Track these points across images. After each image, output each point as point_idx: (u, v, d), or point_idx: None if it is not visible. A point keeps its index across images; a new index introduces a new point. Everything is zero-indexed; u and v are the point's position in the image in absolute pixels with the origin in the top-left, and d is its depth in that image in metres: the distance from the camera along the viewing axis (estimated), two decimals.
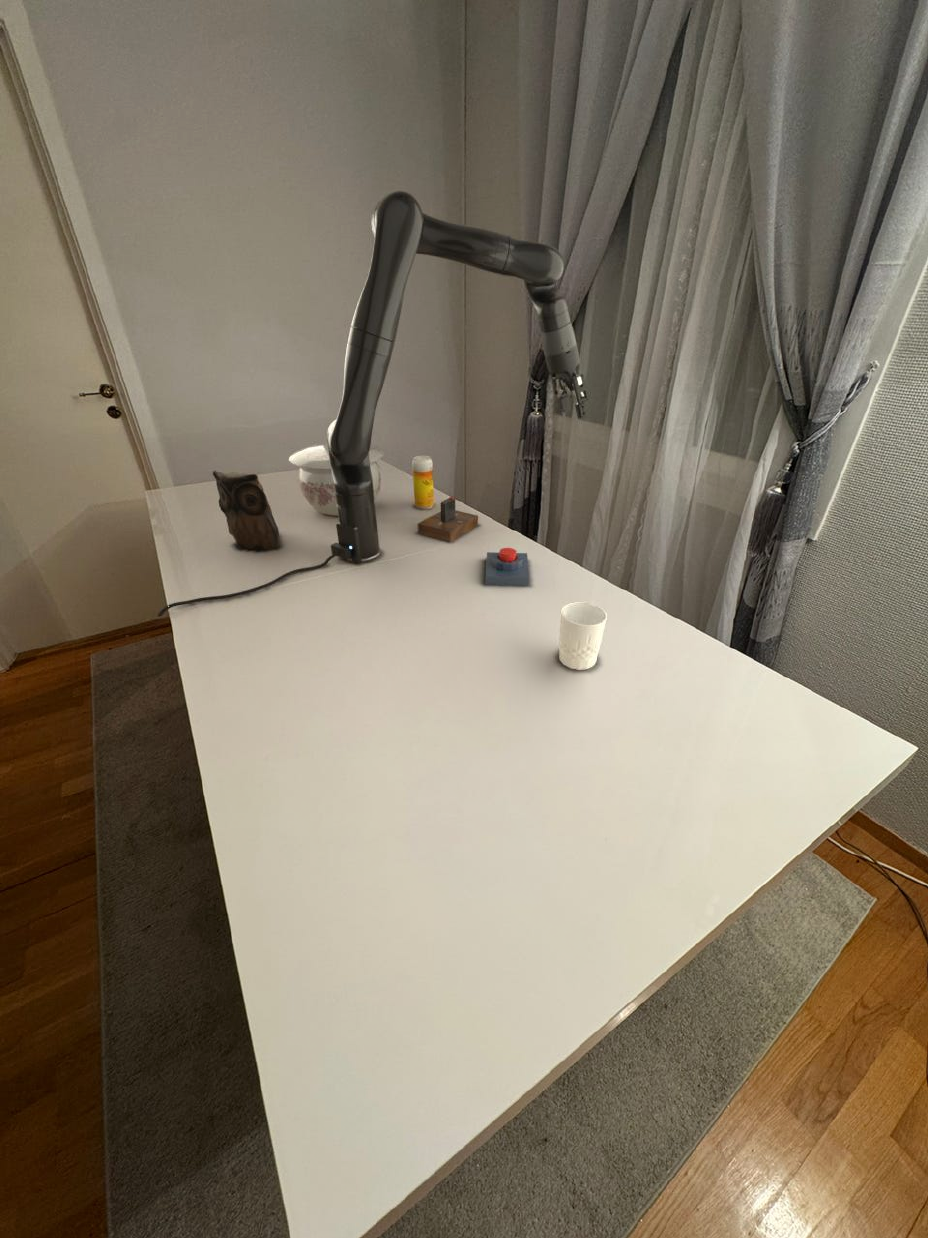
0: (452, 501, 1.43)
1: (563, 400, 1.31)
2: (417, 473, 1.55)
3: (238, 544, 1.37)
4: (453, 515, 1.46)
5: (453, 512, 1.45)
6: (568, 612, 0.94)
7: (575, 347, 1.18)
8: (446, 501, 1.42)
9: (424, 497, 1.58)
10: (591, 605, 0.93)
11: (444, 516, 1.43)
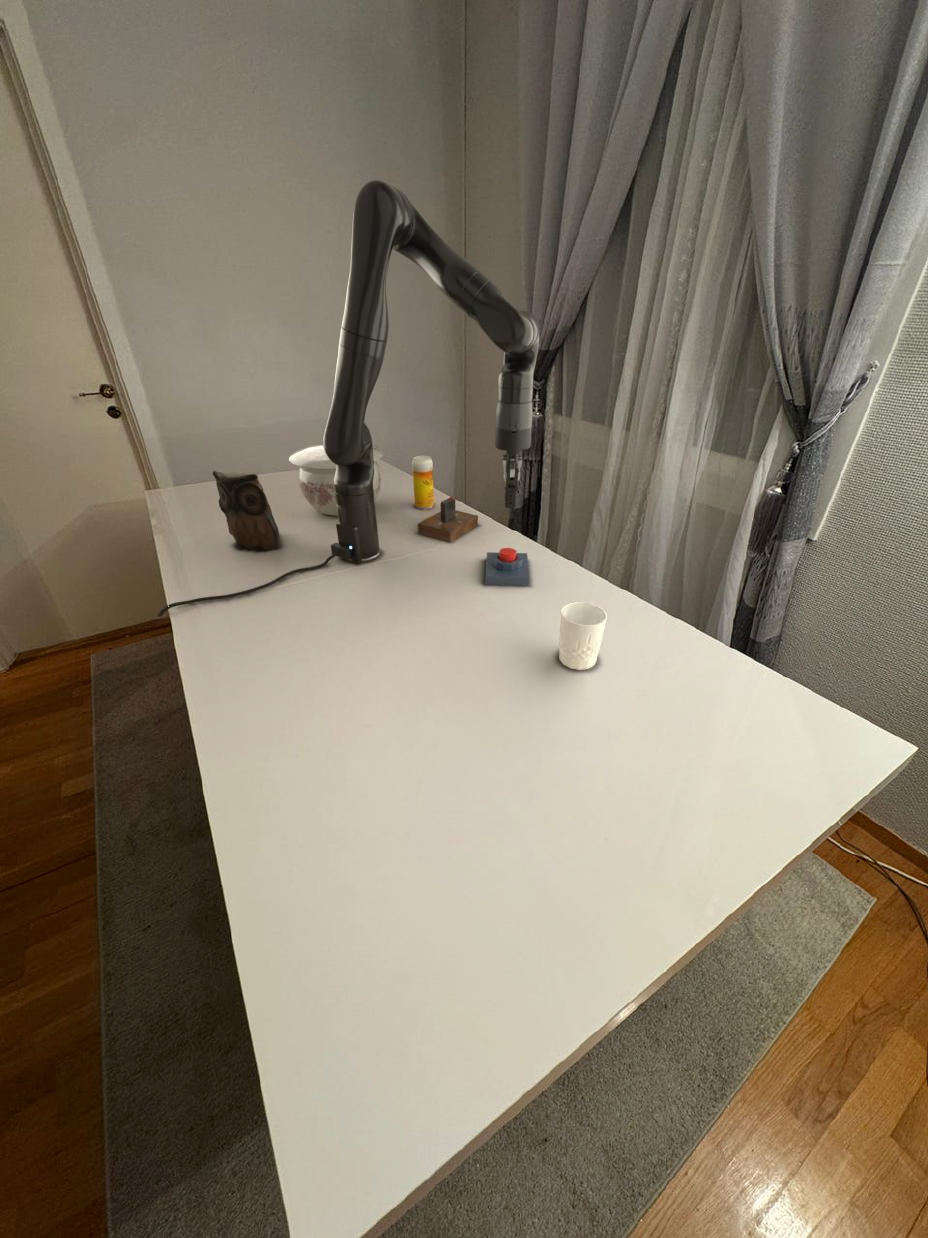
0: (452, 501, 1.43)
1: None
2: (417, 473, 1.55)
3: (238, 544, 1.37)
4: (453, 515, 1.46)
5: (453, 512, 1.45)
6: (568, 612, 0.94)
7: (525, 431, 1.04)
8: (446, 501, 1.42)
9: (424, 497, 1.58)
10: (591, 605, 0.93)
11: (444, 516, 1.43)
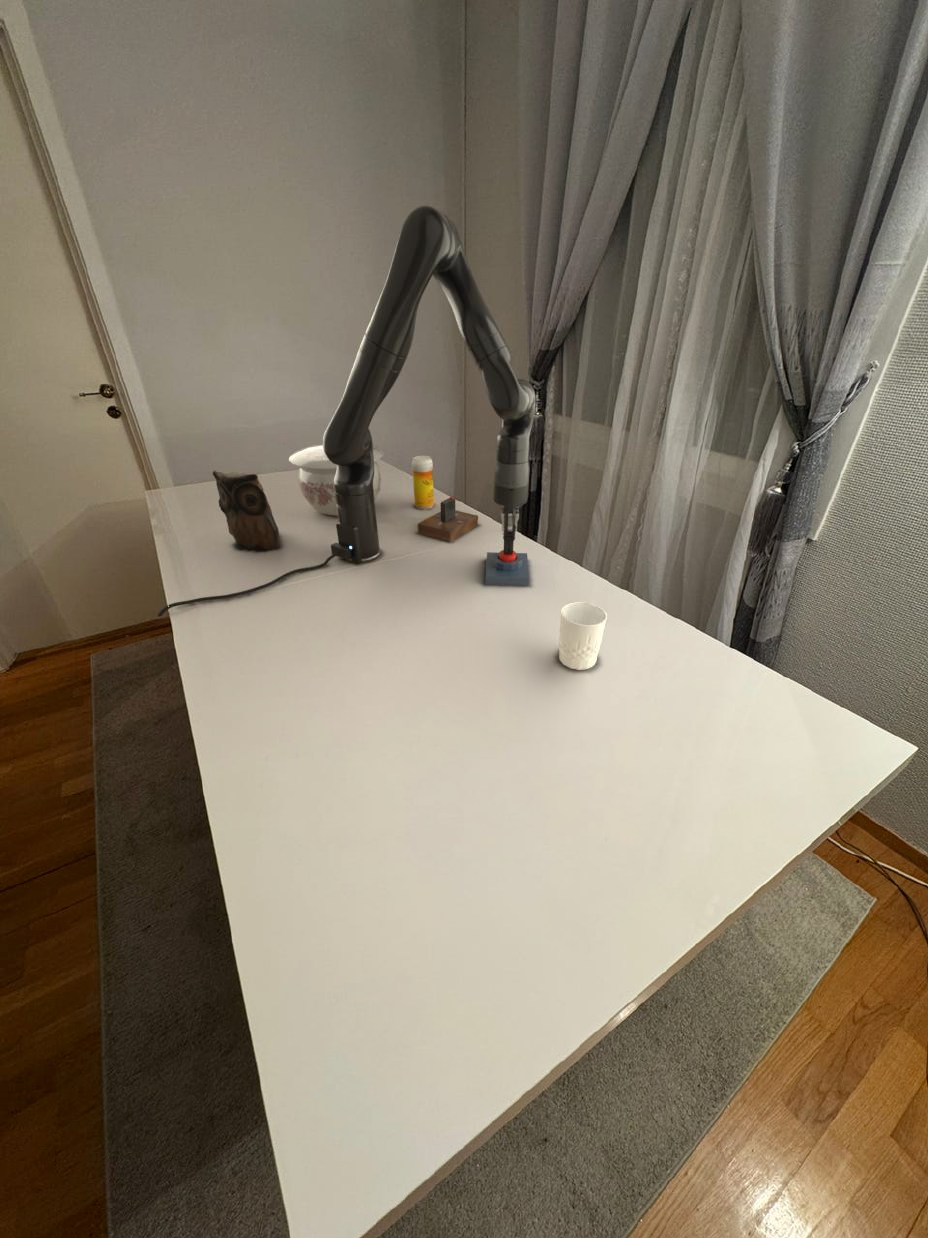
0: (452, 501, 1.43)
1: None
2: (417, 473, 1.55)
3: (238, 544, 1.37)
4: (453, 515, 1.46)
5: (453, 512, 1.45)
6: (568, 612, 0.94)
7: (522, 488, 1.11)
8: (446, 501, 1.42)
9: (424, 497, 1.58)
10: (591, 605, 0.93)
11: (444, 516, 1.43)
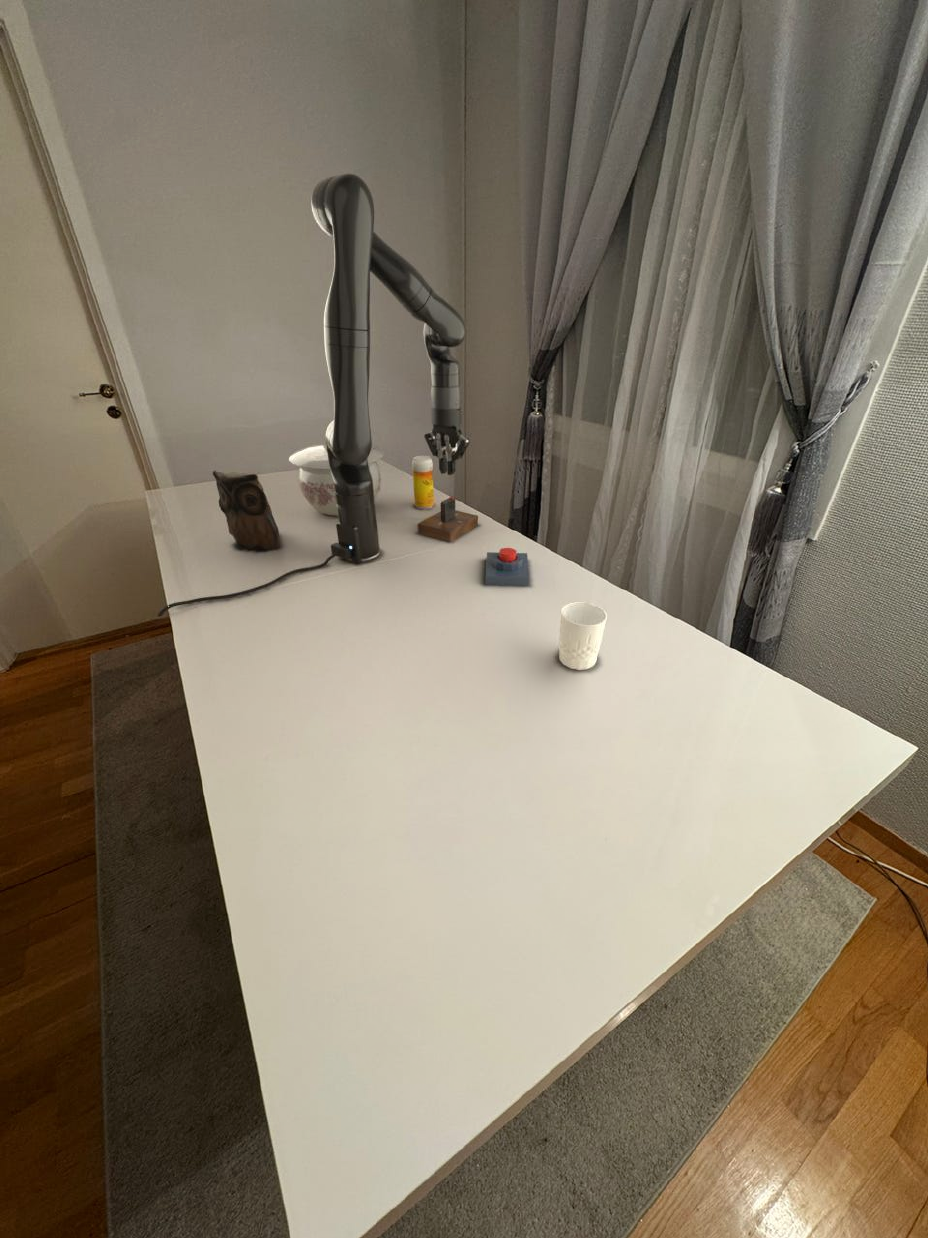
0: (452, 501, 1.43)
1: (443, 461, 1.37)
2: (417, 473, 1.55)
3: (238, 544, 1.37)
4: (453, 515, 1.46)
5: (453, 512, 1.45)
6: (568, 612, 0.94)
7: None
8: (446, 501, 1.42)
9: (424, 497, 1.58)
10: (591, 605, 0.93)
11: (444, 516, 1.43)
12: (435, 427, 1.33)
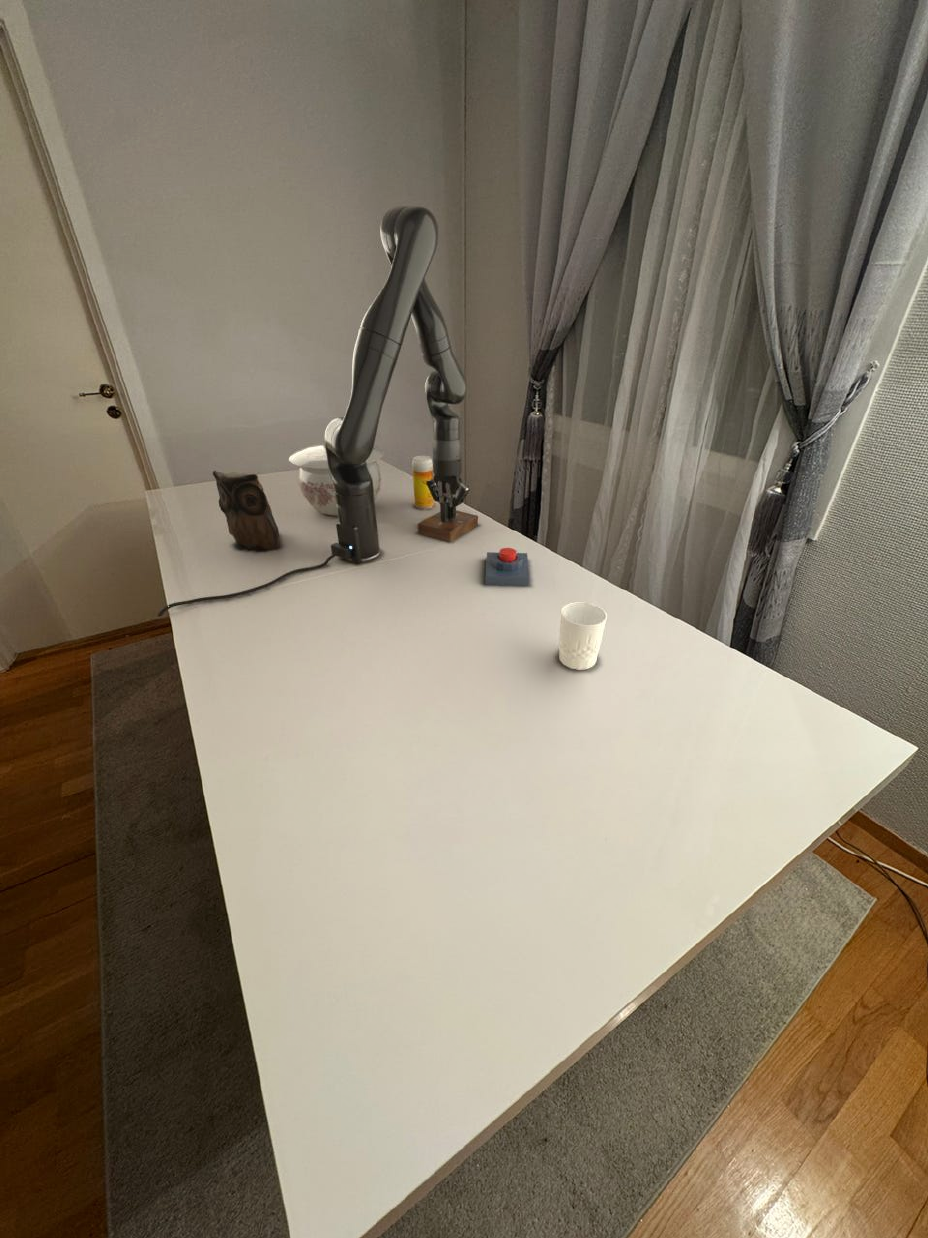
0: None
1: None
2: (417, 473, 1.55)
3: (238, 544, 1.37)
4: None
5: None
6: (568, 612, 0.94)
7: None
8: (446, 501, 1.42)
9: (424, 497, 1.58)
10: (591, 605, 0.93)
11: (444, 516, 1.43)
12: (436, 475, 1.40)
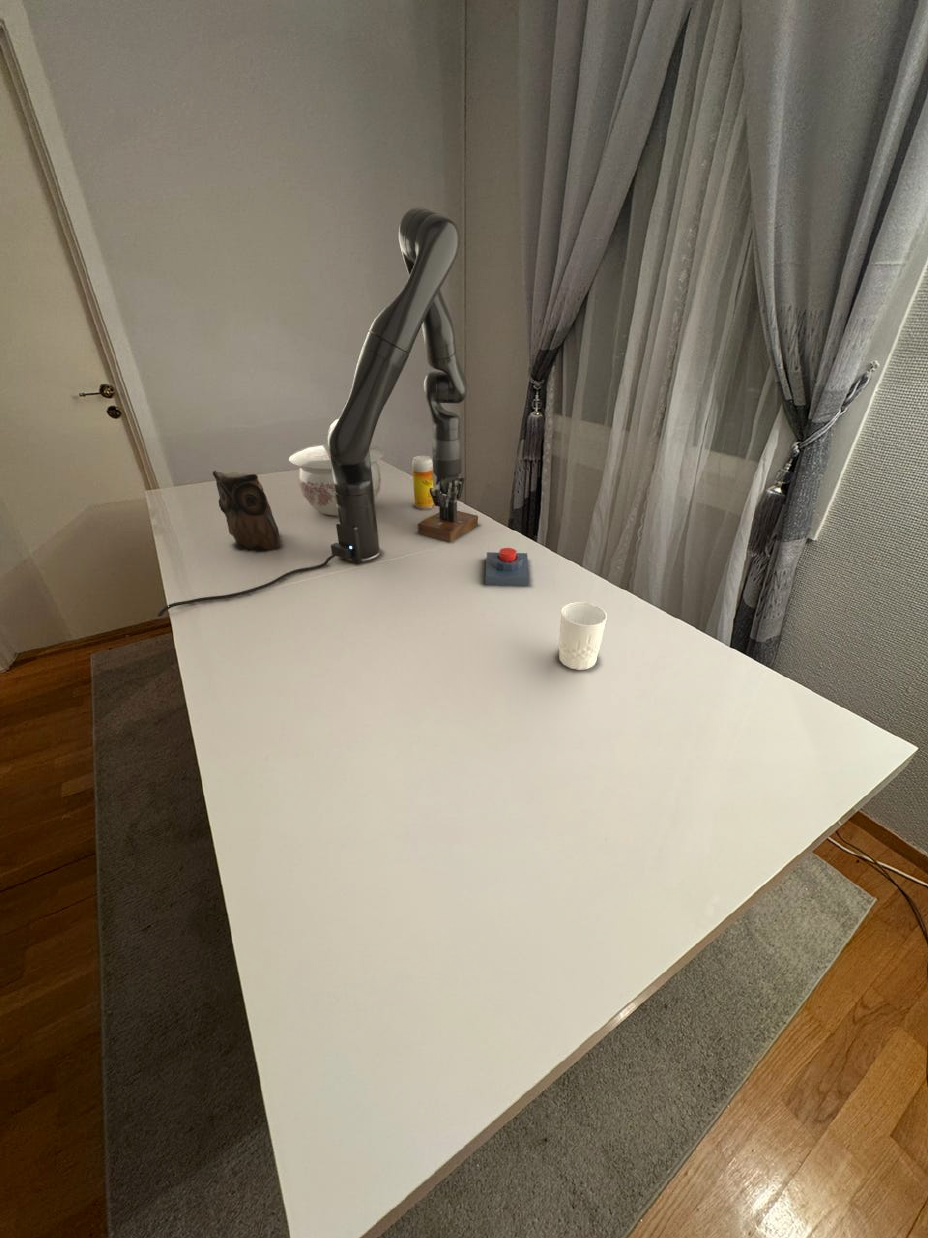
0: None
1: None
2: (417, 473, 1.55)
3: (238, 544, 1.37)
4: None
5: None
6: (568, 612, 0.94)
7: None
8: (451, 500, 1.42)
9: (424, 497, 1.58)
10: (591, 605, 0.93)
11: (456, 515, 1.44)
12: (444, 479, 1.37)
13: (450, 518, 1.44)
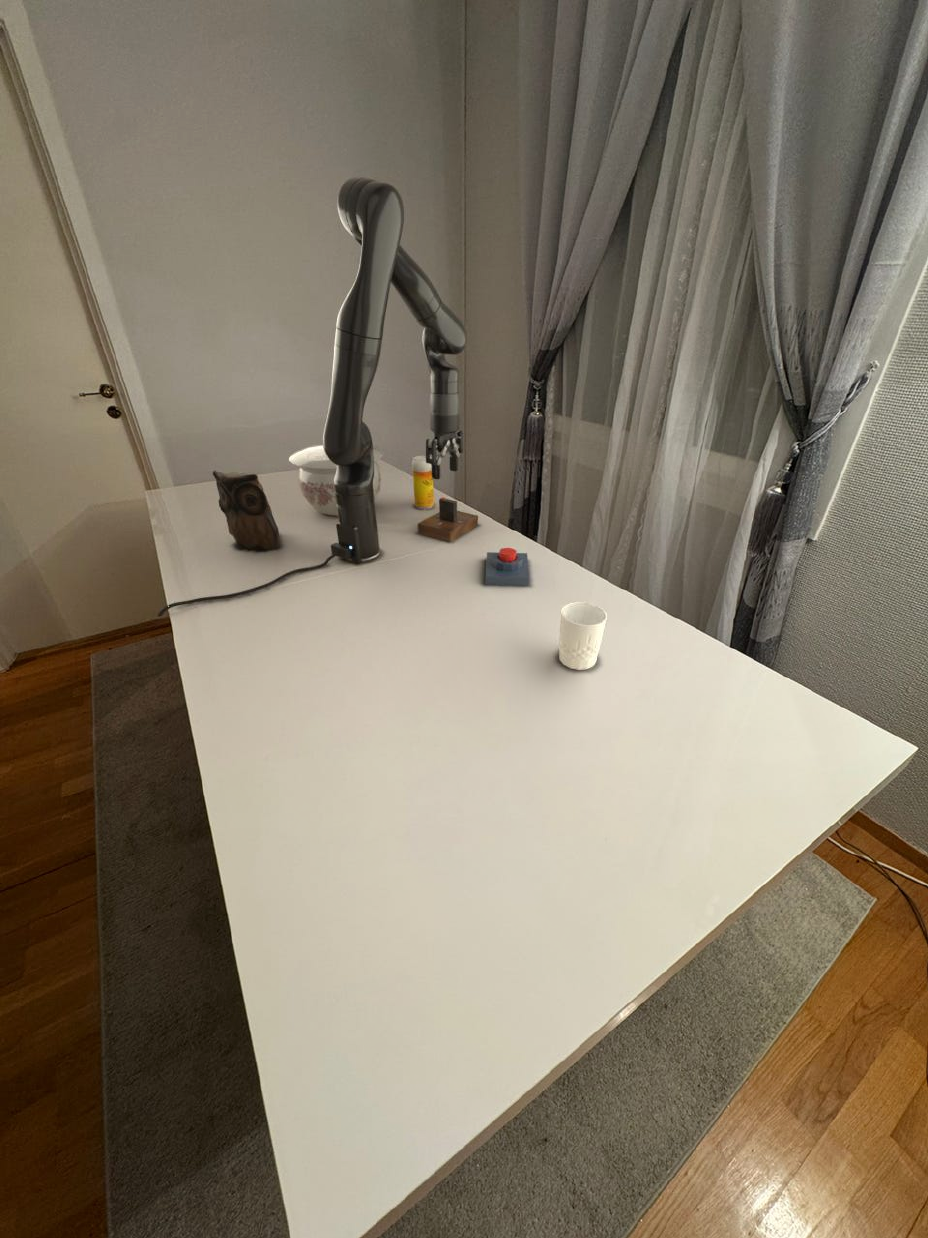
0: None
1: None
2: (417, 473, 1.55)
3: (238, 544, 1.37)
4: None
5: None
6: (568, 612, 0.94)
7: None
8: (451, 500, 1.42)
9: (424, 497, 1.58)
10: (591, 605, 0.93)
11: (456, 515, 1.44)
12: (443, 437, 1.32)
13: (450, 518, 1.44)
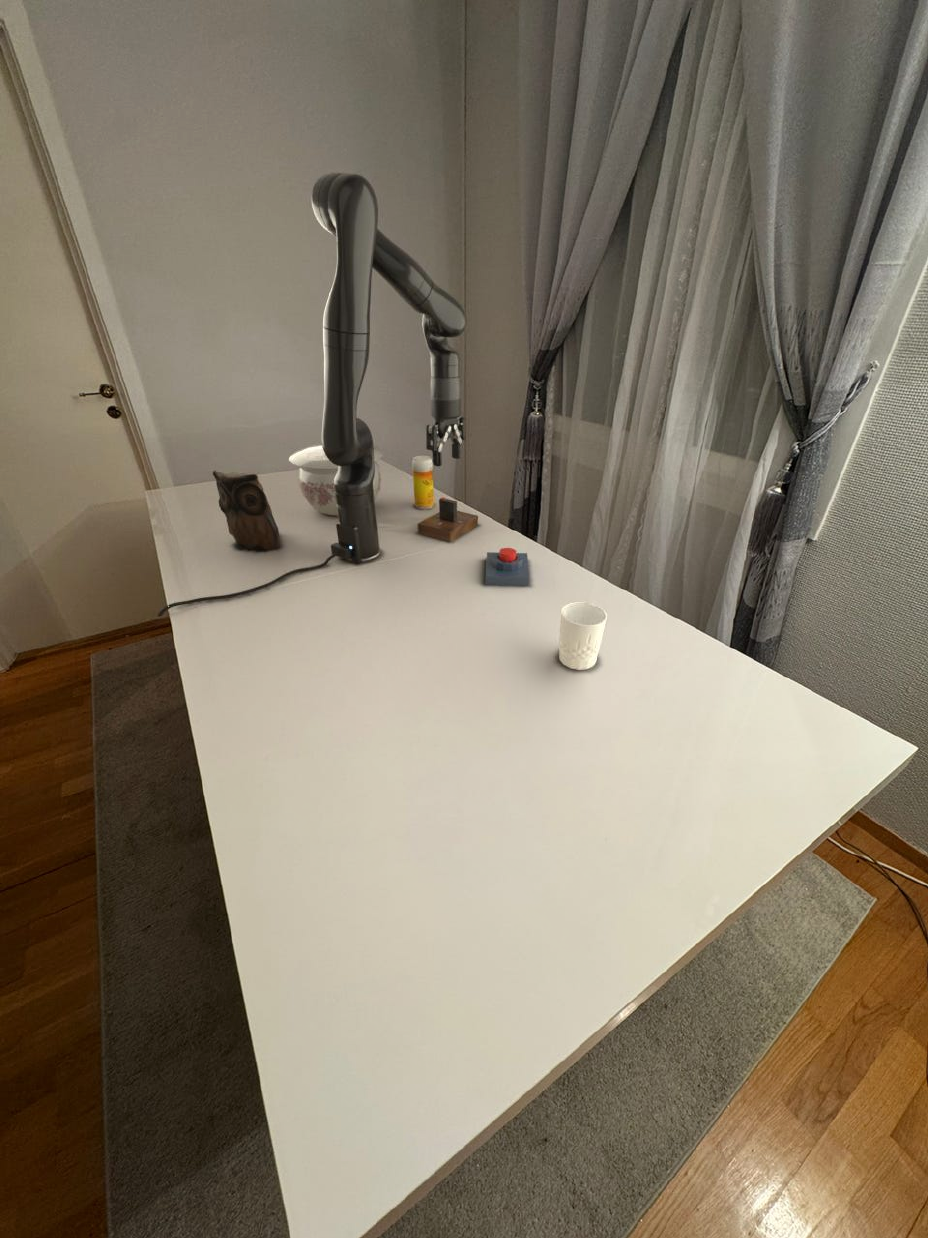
0: None
1: None
2: (417, 473, 1.55)
3: (238, 544, 1.37)
4: None
5: None
6: (568, 612, 0.94)
7: None
8: (451, 500, 1.42)
9: (424, 497, 1.58)
10: (591, 605, 0.93)
11: (456, 515, 1.44)
12: (444, 423, 1.29)
13: (450, 518, 1.44)
